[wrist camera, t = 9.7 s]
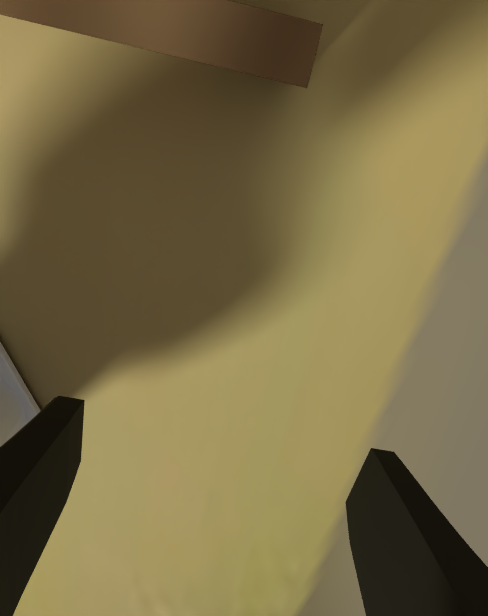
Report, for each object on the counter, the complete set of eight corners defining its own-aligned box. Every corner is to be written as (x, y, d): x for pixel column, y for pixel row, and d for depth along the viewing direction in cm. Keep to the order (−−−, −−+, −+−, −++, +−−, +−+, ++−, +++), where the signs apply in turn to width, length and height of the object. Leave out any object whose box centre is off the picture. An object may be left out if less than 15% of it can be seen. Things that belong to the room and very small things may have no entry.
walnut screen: (-129, -19, 15) (-249, -46, 11) (-137, -78, 14) (-268, -126, 10) (294, 82, 16) (307, 87, 12) (305, 33, 15) (322, 24, 12)
